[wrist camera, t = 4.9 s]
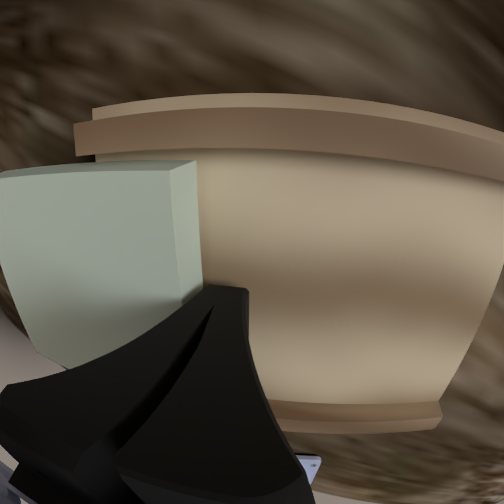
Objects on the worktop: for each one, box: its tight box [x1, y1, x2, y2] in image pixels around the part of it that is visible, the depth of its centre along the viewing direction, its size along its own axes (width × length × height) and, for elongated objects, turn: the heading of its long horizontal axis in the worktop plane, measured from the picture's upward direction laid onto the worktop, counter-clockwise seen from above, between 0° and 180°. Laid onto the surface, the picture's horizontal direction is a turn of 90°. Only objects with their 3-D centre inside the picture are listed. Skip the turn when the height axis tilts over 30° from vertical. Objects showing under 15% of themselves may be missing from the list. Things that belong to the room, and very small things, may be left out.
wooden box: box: [74, 93, 504, 434], centre depth 11 cm, size 13×14×4 cm
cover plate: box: [0, 160, 203, 369], centre depth 11 cm, size 9×10×2 cm
